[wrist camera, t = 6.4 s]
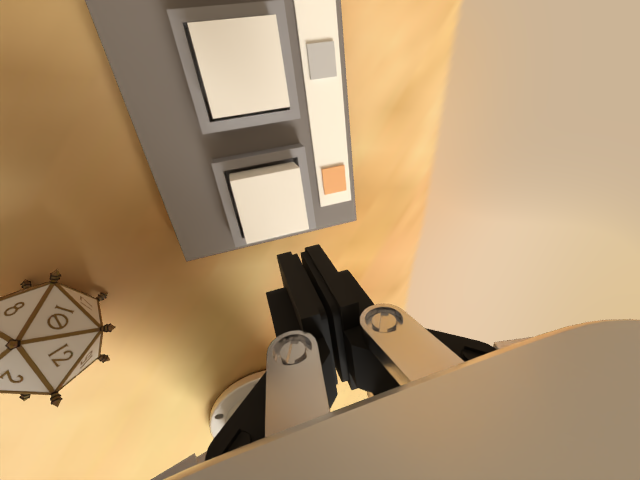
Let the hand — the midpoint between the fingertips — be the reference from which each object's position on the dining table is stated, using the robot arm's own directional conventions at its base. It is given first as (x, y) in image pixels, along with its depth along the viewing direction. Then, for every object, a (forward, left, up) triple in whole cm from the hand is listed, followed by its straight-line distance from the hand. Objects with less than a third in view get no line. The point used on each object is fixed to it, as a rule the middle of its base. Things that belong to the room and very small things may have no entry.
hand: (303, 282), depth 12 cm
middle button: (+8, 0, -11) cm, 14 cm away
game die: (-6, +17, -15) cm, 23 cm away
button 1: (0, 0, -11) cm, 11 cm away
